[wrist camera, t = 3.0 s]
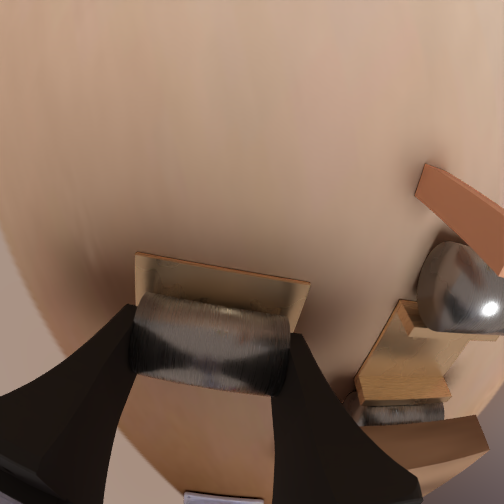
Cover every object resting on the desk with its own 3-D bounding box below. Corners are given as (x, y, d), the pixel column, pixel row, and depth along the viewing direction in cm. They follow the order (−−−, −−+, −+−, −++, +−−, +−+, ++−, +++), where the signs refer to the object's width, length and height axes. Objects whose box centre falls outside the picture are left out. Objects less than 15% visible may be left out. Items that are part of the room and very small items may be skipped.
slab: (387, 486, 17) (392, 513, 15) (283, 494, 16) (283, 525, 14) (475, 414, 12) (489, 449, 10) (347, 426, 11) (355, 476, 9)
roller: (287, 299, 12) (293, 360, 9) (269, 353, 13) (270, 412, 11) (152, 275, 11) (125, 331, 9) (152, 333, 13) (132, 389, 10)
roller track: (361, 459, 20) (367, 493, 17) (150, 442, 19) (142, 480, 16) (517, 251, 11) (557, 290, 8) (140, 163, 10) (96, 197, 7)
